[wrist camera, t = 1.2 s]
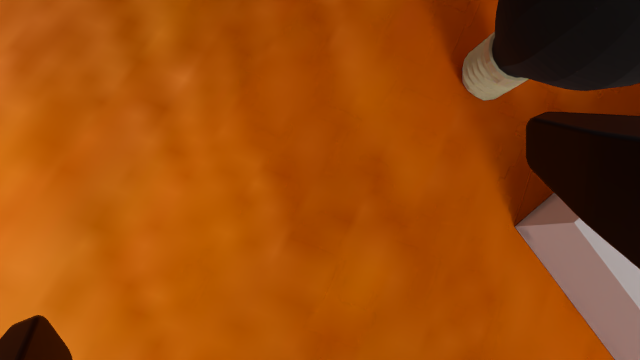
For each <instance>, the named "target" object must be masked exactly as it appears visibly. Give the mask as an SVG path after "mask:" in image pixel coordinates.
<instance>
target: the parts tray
mask: <svg viewBox="0 0 640 360" xmlns="http://www.w3.org/2000/svg"><path fill="white" fill-rule="evenodd" d="M515 228H516V229H517V230H518V232H519V233H520V234H521V236H522V237H523V238H524V240H525V241H526V242H527V244H528V245H529V246H530V248H531V249H532V250H533V252H534V253H535V254H536V256H537V257H538V258H539V260H540V261H541V262H542V264H543V265H544V266H545V268H546V269H547V270H548V272H549V273H550V274H551V275H552V277H553V278H554V279H555V281H556V282H557V283H558V285H559V286H560V287H561V289H562V290H563V291H564V293H565V294H566V295H567V297H568V298H569V299H570V301H571V302H572V303H573V305H574V306H575V307H576V309H577V310H578V311H579V313H580V314H581V315H582V317H583V318H584V319H585V320H586V322H587V323H588V324H589V326H590V327H591V328H592V330H593V331H594V332H595V334H596V335H597V336H598V338H599V339H600V340H601V342H602V343H603V344H604V346H605V347H606V348H607V350H608V351H609V352H610V354H611V355H612V356H613V358H614V359H615V360H640V269H639V268H637V267H636V266H635V265H634V264H633V263H631V262H630V261H629V260H628V259H627V258H625V257H624V256H623V255H622V254H621V253H619V252H618V251H617V250H616V249H615V248H614V247H612V246H611V245H610V244H609V243H608V242H606V241H605V240H604V239H603V238H602V237H600V236H599V235H598V234H597V233H596V232H594V231H593V230H592V229H591V228H590V227H589V226H588V225H586V224H585V223H584V222H583V221H582V220H581V219H580V218H579V217H578V216H577V215H576V214H575V213H574V212H573V211H572V210H571V209H570V208H569V207H568V206H567V205H566V204H565V203H564V202H563V201H562V200H561V199H560V198H559V197H558V196H557V195H556V194H555V193H553V194H552V195H551V196H550V197H549V198H547V199H546V200H545V201H544V202H543V203H542V204H540V205H539V206H538V207H537V208H536V209H535V210H533V211H532V212H531V213H530V214H529V215H528V216H527V217H525V218H524V219H523V220H522V221H521V222H520V223H518V224H517V225H516V226H515Z"/></svg>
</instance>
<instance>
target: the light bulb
mask: <svg viewBox="0 0 640 360" xmlns="http://www.w3.org/2000/svg"><path fill="white" fill-rule="evenodd" d="M462 71H463V73H462V80H463V84H464V85H465V87H466V89H467V90H468V91H469V92H470V93H472V94H473V95H474V96H476V97H478V98H480V99H482V100H484V101H485V100H492V99H496V98H497V97H499V96H501V95H502V94H504V93H506V92H508V91H509V90H511V89H513V88H515V87H516V86H518V85H520V84H521V83H523V82H525V81H526V80H528V79H532V80H535V81H539V82H542V83H545V84H549V85H552V86H556V87H560V88H565V89H570V90H580V91H588V90H597V89H605V88H614V87H622V86H630V85H634V84H637V83H640V0H499V1H498V6H497V12H496V20H495V32H494V33H492V34H491V35H489V37H488V38H487V39H485V40H484V41H483V42H482V43H480V44H479V45H478V46H477V47H475V48H474V49H473V50H472V51H471V52H469V53H468V55H467V56H466V58H465V59H464V63H463V68H462Z"/></svg>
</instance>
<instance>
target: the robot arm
mask: <svg viewBox="0 0 640 360" xmlns="http://www.w3.org/2000/svg"><path fill="white" fill-rule="evenodd" d="M526 159H527V162H528V165H529V166H530V168H531V169H532V170H533V171H534V172H535V173H536V174H537V175H538V176H539V177H540V178H541V179H542V180H543V182H544V183H545V184H546V185H547V186H548V187H549V188H550V189H551V190H552V191H553V192H554V193H555V194H556V195H557V196H558V197H559V198H560V199H561V200H562V201H563V202H564V203H565V204H566V205H567V206H568V207H569V208H570V209H571V210H572V211H573V212H574V213H575V214H576V215H577V216H578V217H579V218H580V219H581V220H582V221H583V222H584V223H585V224H586V225H588V226H589V227H590V228H591V229H592V230H593V231H594V232H596V233H597V234H598V235H599V236H600V237H602V238H603V239H604V240H605V241H606V242H608V243H609V244H610V245H611V246H612V247H614V248H615V249H616V250H617V251H618V252H619V253H621V254H622V255H623V256H624V257H625V258H627V259H628V260H629V261H630V262H631V263H633V264H634V265H635V266H636V267H637V268H639V269H640V116H627V115H607V114H588V113H568V112H545V113H543V114H540V115H538V116H535V117H533V118H531V119H530V120H529V121H528V123H527V125H526ZM0 360H72V356H71V353H70V351H69V349H68V347H67V346H66V345H65V343H64V342H63V340H62V339H61V338H60V336H59V335H58V334H57V332H56V331H55V329H54V328H53V327H52V325H51V324H50V323H49V321H48V320H47V319H46V318H45V317H43V316H40V315H36V316H33V317H31V318H28V319H26V320H23V321H21V322H18V323H16V324H14V325H12V326H11V327H10V328H9V329H8V330H7V332H6V333H5V334H4V335H3V336H2V337H1V339H0Z"/></svg>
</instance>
